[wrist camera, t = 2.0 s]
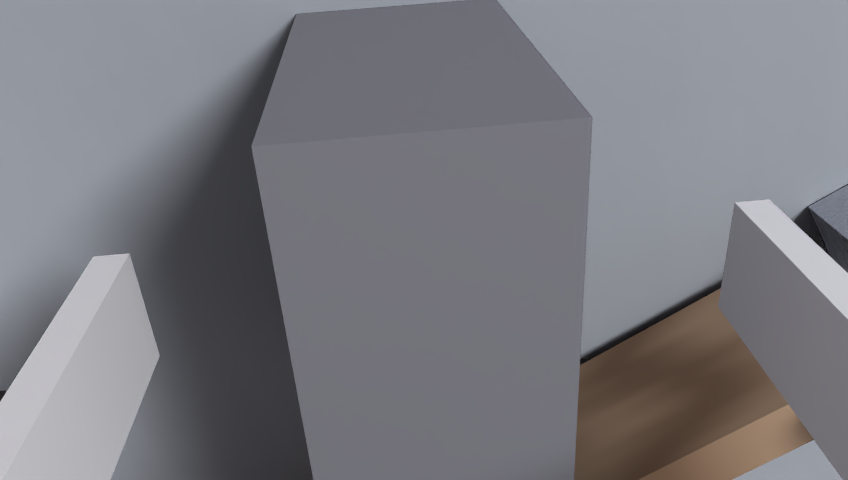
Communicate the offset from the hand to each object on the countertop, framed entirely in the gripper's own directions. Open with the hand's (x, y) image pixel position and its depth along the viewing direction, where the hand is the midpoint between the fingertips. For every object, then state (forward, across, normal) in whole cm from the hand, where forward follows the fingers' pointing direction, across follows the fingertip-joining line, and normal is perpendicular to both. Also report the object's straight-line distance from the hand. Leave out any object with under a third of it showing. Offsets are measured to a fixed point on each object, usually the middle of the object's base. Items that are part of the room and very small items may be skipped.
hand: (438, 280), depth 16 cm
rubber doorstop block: (+5, 0, 0) cm, 5 cm away
